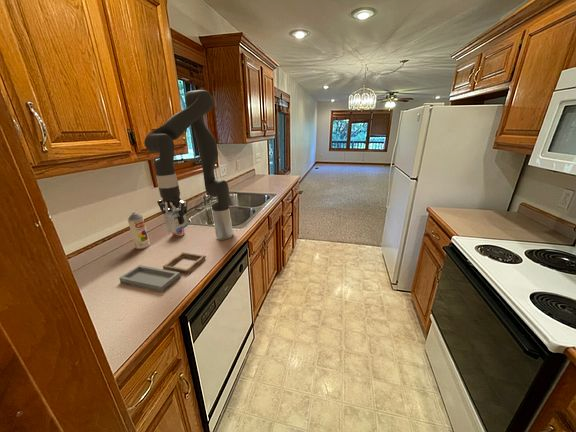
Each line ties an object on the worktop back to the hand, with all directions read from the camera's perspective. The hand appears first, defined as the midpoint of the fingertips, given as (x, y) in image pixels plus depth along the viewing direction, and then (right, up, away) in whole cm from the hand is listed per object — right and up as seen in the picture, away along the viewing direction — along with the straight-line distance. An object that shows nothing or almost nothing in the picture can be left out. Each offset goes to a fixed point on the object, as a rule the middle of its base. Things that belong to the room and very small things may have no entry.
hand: (176, 223), depth 105 cm
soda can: (-16, -8, +38) cm, 42 cm away
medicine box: (0, -3, +1) cm, 3 cm away
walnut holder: (+1, -20, +8) cm, 21 cm away
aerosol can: (-30, -14, +26) cm, 42 cm away
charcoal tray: (-9, -24, -3) cm, 26 cm away
